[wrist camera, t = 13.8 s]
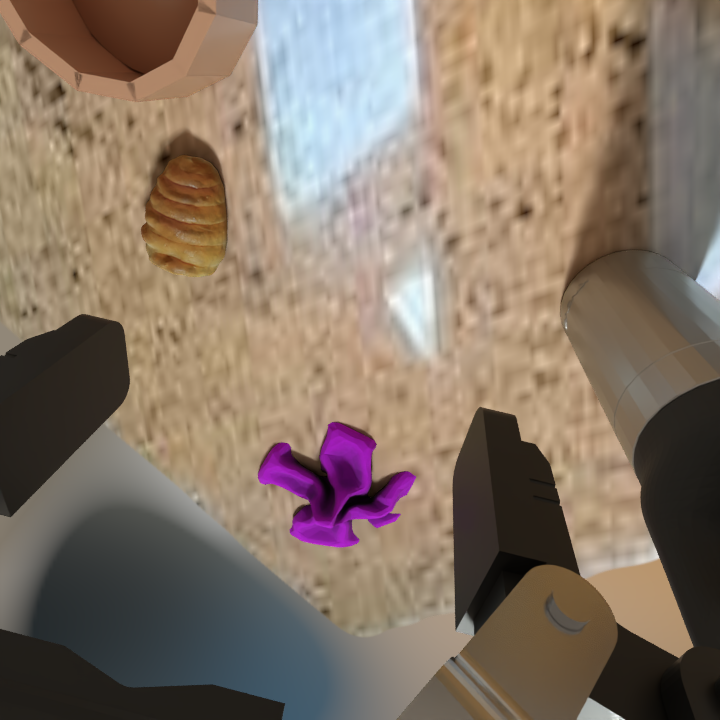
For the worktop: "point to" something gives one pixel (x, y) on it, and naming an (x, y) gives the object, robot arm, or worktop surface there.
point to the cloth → (335, 488)
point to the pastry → (186, 218)
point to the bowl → (134, 42)
